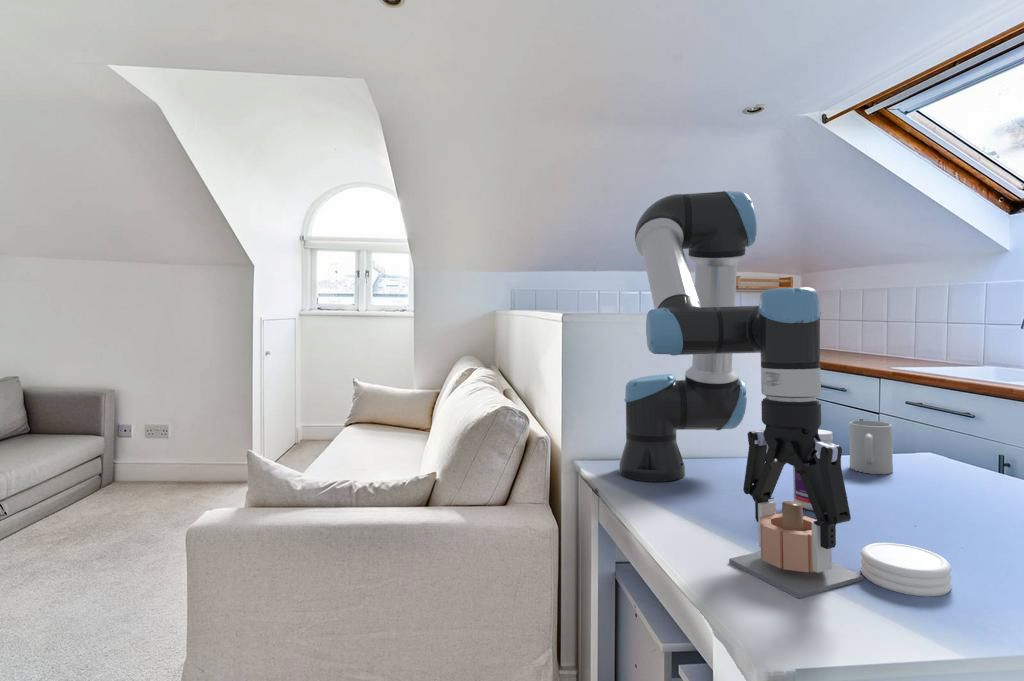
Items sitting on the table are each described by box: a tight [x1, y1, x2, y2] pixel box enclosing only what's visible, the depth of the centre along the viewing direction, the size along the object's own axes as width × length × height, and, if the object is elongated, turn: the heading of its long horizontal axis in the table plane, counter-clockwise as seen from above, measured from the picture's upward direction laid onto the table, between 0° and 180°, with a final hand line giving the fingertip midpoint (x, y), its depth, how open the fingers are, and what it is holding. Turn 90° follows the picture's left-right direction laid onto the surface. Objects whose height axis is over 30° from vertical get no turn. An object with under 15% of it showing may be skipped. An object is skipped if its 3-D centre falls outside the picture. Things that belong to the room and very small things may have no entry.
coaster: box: [860, 542, 953, 598], centre depth 75 cm, size 10×10×4 cm
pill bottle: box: [792, 428, 842, 512], centre depth 105 cm, size 8×8×14 cm
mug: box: [848, 420, 894, 475], centre depth 128 cm, size 12×8×11 cm
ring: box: [760, 512, 817, 572], centre depth 78 cm, size 8×8×5 cm
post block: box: [728, 500, 864, 599], centre depth 78 cm, size 12×12×10 cm
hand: (793, 557), depth 78 cm, fingers closed on ring, 8 cm apart
